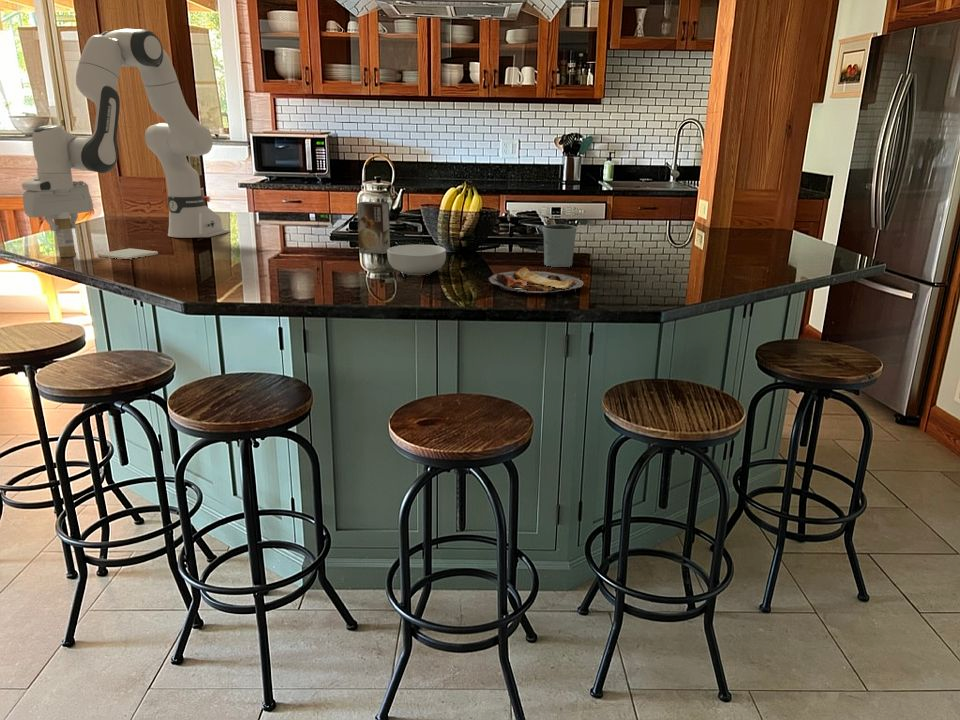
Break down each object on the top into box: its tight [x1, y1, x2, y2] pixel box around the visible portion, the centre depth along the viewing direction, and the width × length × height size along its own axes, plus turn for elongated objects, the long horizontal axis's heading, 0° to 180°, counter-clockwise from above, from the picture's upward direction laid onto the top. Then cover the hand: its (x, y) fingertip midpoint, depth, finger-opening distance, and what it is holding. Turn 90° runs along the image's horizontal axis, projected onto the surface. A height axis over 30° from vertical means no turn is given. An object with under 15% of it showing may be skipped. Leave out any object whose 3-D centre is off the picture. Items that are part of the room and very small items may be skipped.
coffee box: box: [356, 201, 391, 255], centre depth 236 cm, size 9×6×16 cm
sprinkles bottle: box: [53, 212, 77, 258], centre depth 218 cm, size 5×5×13 cm
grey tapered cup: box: [542, 223, 578, 268], centre depth 220 cm, size 10×10×12 cm
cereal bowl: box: [386, 244, 447, 276], centre depth 205 cm, size 17×17×7 cm
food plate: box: [487, 266, 585, 295], centre depth 192 cm, size 25×23×4 cm
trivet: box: [97, 247, 159, 260], centre depth 223 cm, size 12×12×1 cm
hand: (63, 229), depth 217 cm, fingers closed on sprinkles bottle, 4 cm apart
